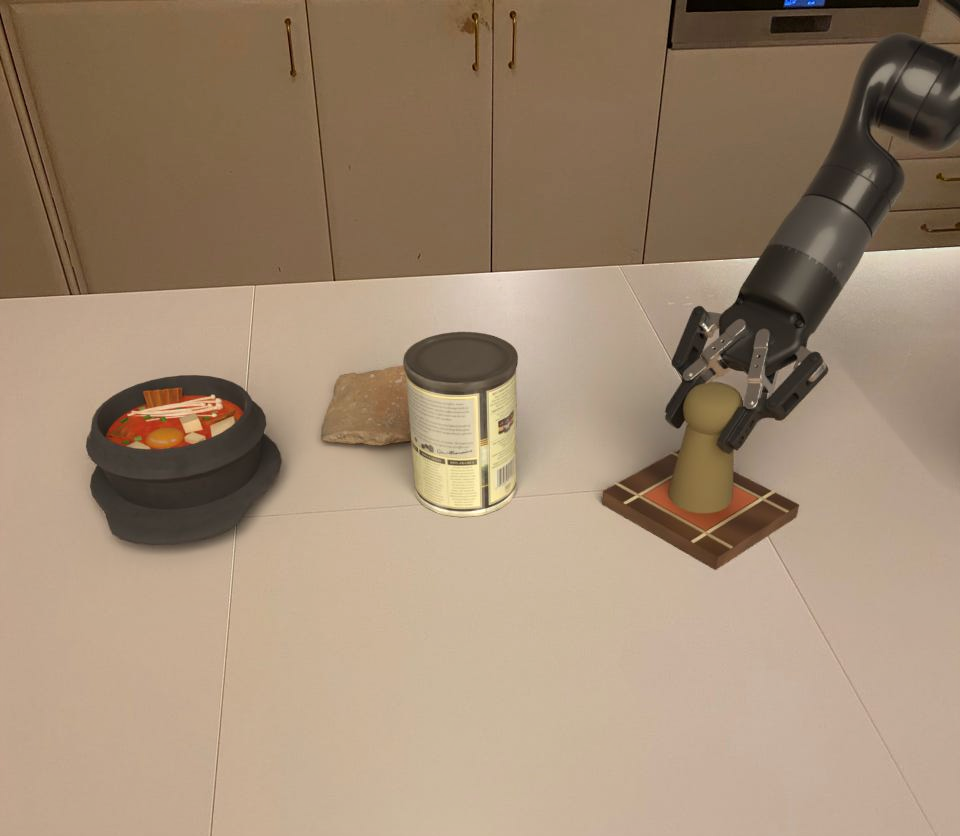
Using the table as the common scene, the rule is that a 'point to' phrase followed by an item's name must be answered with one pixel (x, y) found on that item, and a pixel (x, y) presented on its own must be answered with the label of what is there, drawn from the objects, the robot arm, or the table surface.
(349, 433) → the stone
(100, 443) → the casserole
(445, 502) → the coffee can
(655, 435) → the table surface
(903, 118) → the robot arm
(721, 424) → the pawn
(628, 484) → the grid board
